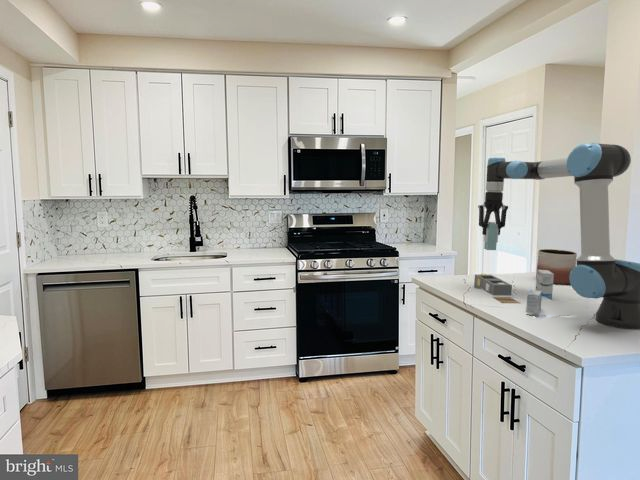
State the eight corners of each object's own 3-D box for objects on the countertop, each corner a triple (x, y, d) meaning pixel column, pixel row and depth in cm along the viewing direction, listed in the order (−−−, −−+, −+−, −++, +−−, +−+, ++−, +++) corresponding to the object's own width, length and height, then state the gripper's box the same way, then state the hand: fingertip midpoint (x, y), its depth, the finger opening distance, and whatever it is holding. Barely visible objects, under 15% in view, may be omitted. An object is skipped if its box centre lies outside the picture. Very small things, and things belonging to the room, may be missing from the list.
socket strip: (511, 298, 194) (512, 284, 193) (492, 298, 194) (493, 284, 193) (490, 286, 216) (491, 273, 215) (473, 286, 215) (474, 273, 214)
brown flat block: (520, 306, 181) (521, 303, 181) (501, 306, 181) (501, 303, 180) (509, 300, 191) (509, 296, 191) (491, 300, 190) (491, 296, 190)
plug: (496, 250, 205) (498, 222, 203) (487, 250, 205) (489, 222, 203) (492, 248, 209) (494, 221, 207) (484, 248, 209) (486, 221, 207)
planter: (539, 276, 243) (541, 248, 241) (576, 281, 233) (579, 251, 231) (532, 281, 229) (535, 251, 227) (571, 287, 219) (574, 255, 216)
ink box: (552, 300, 193) (554, 273, 191) (539, 299, 194) (542, 273, 192) (546, 295, 201) (548, 269, 199) (534, 294, 202) (536, 269, 200)
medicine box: (538, 317, 166) (540, 295, 165) (525, 315, 169) (527, 293, 168) (540, 312, 173) (542, 291, 172) (528, 310, 175) (530, 289, 174)
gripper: (508, 191, 207) (504, 241, 210) (472, 191, 207) (469, 240, 210) (516, 192, 200) (512, 243, 203) (479, 191, 199) (475, 242, 202)
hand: (490, 241), depth 206 cm, fingers closed on plug, 4 cm apart
